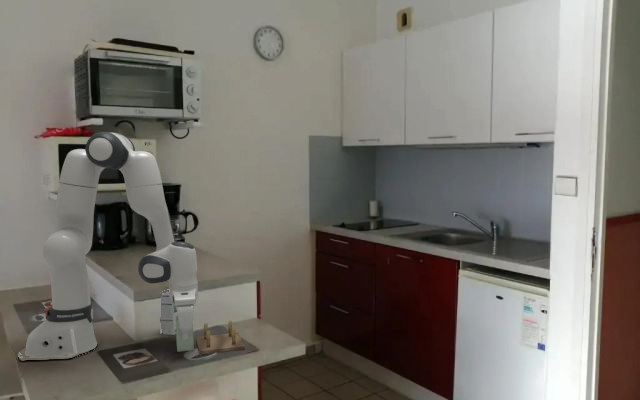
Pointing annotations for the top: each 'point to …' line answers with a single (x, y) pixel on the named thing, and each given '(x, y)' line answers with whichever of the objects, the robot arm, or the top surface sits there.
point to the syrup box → (168, 315)
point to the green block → (184, 344)
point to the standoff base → (219, 341)
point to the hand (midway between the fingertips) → (184, 335)
